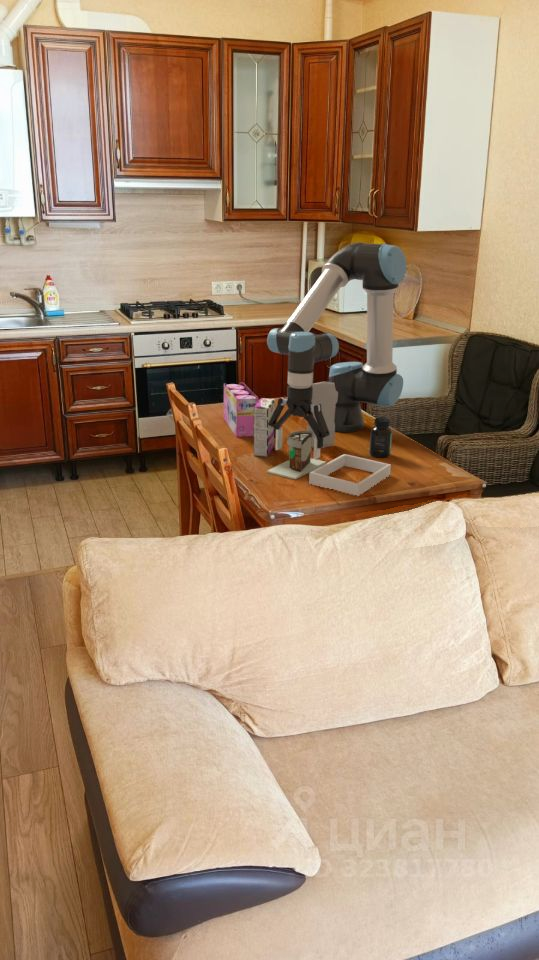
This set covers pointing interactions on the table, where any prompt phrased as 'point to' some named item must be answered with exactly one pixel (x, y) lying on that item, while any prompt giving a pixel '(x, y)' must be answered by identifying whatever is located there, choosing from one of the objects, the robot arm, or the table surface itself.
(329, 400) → the grey upright slab
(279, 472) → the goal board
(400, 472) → the table surface
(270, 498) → the table surface
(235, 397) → the gum box
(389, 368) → the robot arm
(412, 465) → the table surface
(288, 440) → the food container
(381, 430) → the supplement bottle
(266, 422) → the candy bar box
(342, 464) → the bin
